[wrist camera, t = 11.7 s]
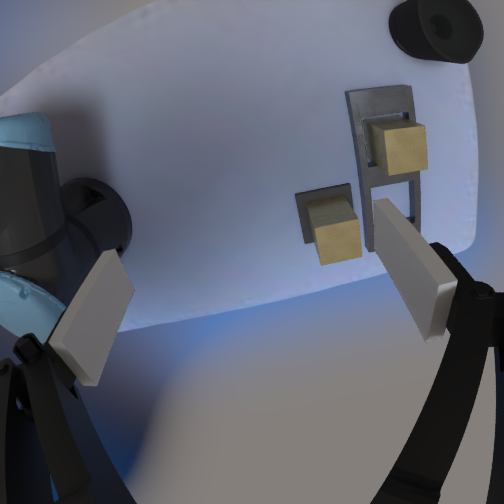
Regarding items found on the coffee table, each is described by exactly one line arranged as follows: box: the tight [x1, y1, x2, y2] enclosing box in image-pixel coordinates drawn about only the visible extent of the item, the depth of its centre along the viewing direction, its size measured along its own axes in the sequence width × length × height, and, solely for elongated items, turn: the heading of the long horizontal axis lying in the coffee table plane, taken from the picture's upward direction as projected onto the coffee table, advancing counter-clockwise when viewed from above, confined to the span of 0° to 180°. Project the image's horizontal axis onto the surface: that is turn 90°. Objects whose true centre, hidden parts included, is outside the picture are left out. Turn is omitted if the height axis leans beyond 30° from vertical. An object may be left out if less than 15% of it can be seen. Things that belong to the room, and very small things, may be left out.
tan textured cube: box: [306, 194, 362, 266], centre depth 42 cm, size 6×6×8 cm
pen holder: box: [389, 0, 484, 64], centre depth 27 cm, size 9×9×10 cm
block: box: [362, 115, 428, 176], centre depth 36 cm, size 6×6×8 cm
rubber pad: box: [295, 183, 354, 244], centre depth 46 cm, size 8×8×1 cm
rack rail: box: [345, 85, 421, 252], centre depth 41 cm, size 9×24×2 cm, turn 14°
